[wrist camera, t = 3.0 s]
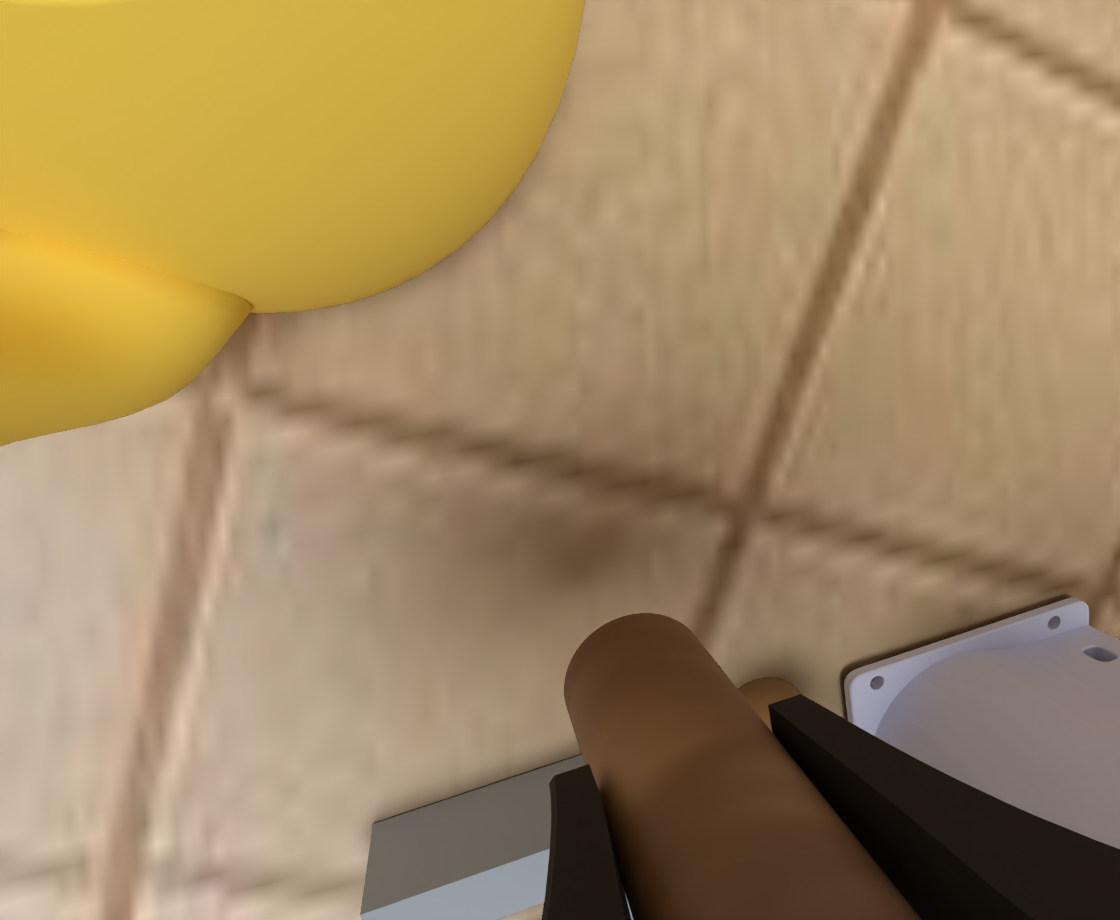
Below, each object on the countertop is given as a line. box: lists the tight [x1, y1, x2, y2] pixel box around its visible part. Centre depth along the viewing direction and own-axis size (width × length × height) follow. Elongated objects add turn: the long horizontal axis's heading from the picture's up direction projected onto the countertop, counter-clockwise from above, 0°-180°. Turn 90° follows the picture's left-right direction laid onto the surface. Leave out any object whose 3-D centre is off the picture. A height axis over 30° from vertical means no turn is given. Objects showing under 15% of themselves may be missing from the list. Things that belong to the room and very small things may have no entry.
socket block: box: [360, 755, 633, 920], centre depth 19 cm, size 10×8×3 cm
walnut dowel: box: [564, 613, 922, 920], centre depth 9 cm, size 3×3×8 cm
